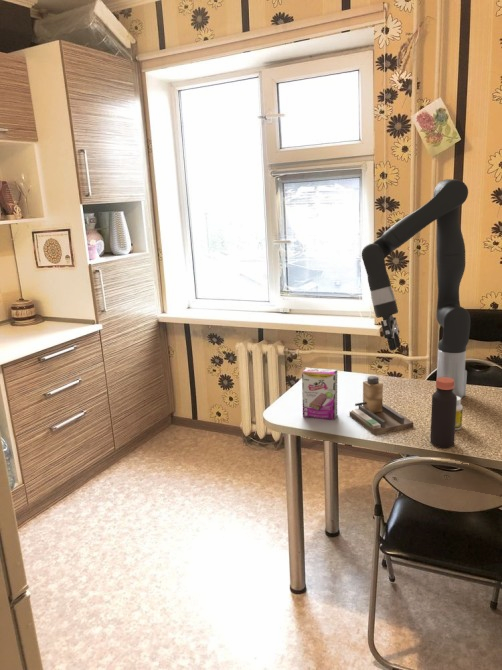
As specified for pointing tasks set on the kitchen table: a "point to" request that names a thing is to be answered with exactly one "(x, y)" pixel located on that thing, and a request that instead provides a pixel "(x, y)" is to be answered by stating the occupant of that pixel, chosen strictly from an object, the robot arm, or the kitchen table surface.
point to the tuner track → (380, 419)
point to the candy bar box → (319, 393)
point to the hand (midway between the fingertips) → (395, 348)
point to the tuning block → (372, 394)
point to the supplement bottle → (458, 414)
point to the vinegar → (443, 414)
